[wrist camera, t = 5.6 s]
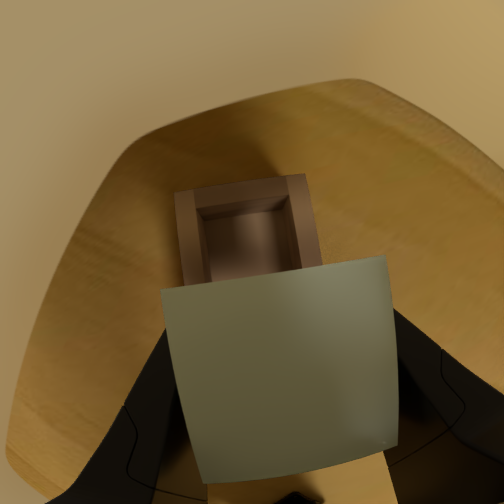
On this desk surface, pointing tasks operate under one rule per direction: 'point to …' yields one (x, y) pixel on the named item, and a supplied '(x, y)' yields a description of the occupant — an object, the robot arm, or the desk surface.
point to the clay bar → (286, 369)
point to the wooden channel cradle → (246, 229)
